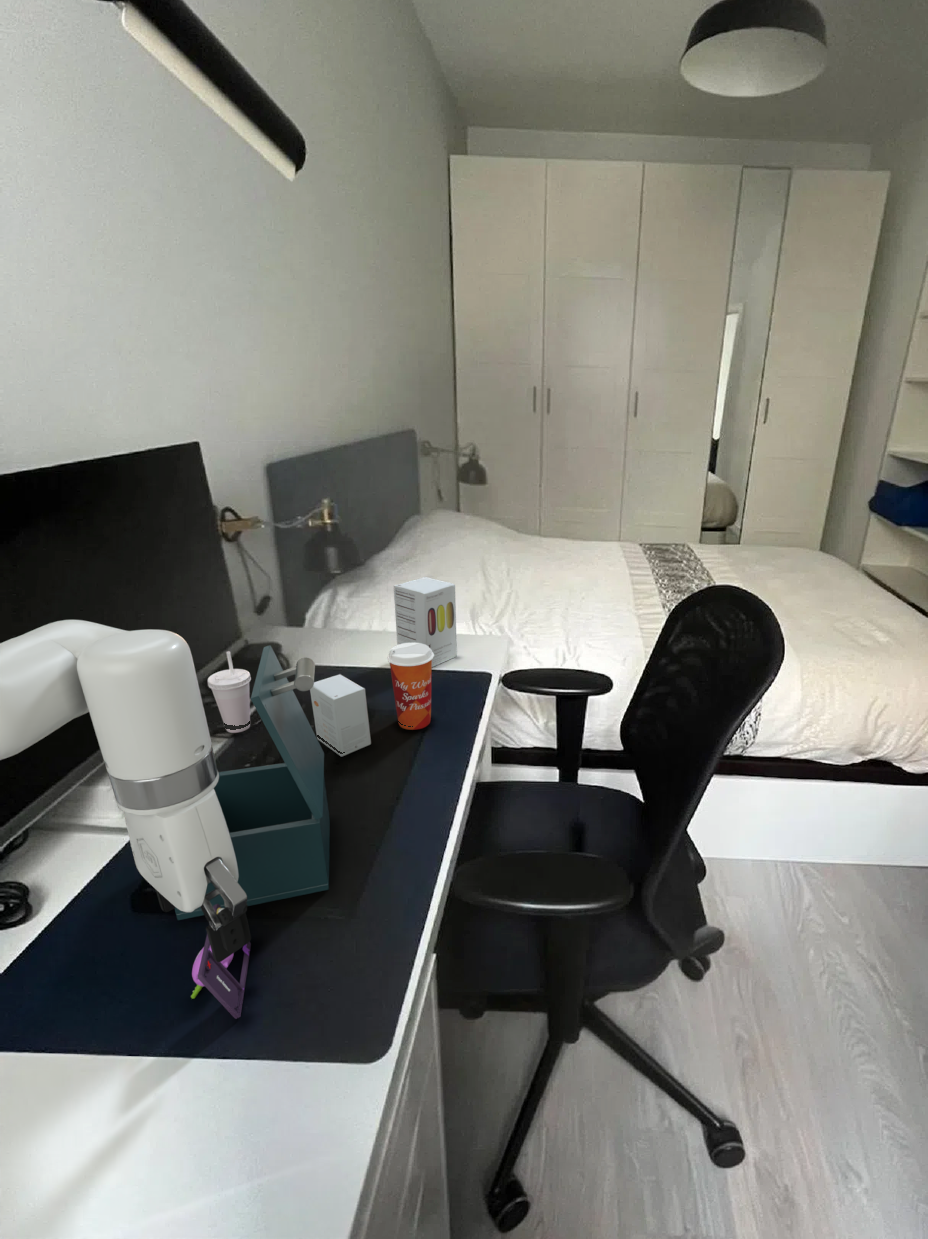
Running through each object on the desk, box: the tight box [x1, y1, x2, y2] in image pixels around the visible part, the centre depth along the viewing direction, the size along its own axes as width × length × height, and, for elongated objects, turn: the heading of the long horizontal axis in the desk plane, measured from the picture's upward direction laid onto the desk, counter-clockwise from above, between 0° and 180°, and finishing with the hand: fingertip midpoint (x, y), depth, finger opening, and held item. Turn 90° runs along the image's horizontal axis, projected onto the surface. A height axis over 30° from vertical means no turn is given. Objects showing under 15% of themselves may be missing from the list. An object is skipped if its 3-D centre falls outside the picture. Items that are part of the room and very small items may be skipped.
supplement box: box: [393, 576, 458, 668], centre depth 135 cm, size 10×9×17 cm
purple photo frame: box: [190, 904, 252, 1020], centre depth 61 cm, size 7×5×9 cm
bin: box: [173, 762, 331, 921], centre depth 76 cm, size 16×14×10 cm
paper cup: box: [386, 643, 434, 731], centre depth 109 cm, size 8×8×14 cm
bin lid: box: [250, 644, 325, 820], centre depth 74 cm, size 17×14×5 cm
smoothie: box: [207, 650, 252, 734], centre depth 105 cm, size 6×6×14 cm
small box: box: [309, 673, 372, 757], centre depth 103 cm, size 8×6×10 cm
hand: (205, 925), depth 60 cm, fingers open, 9 cm apart
